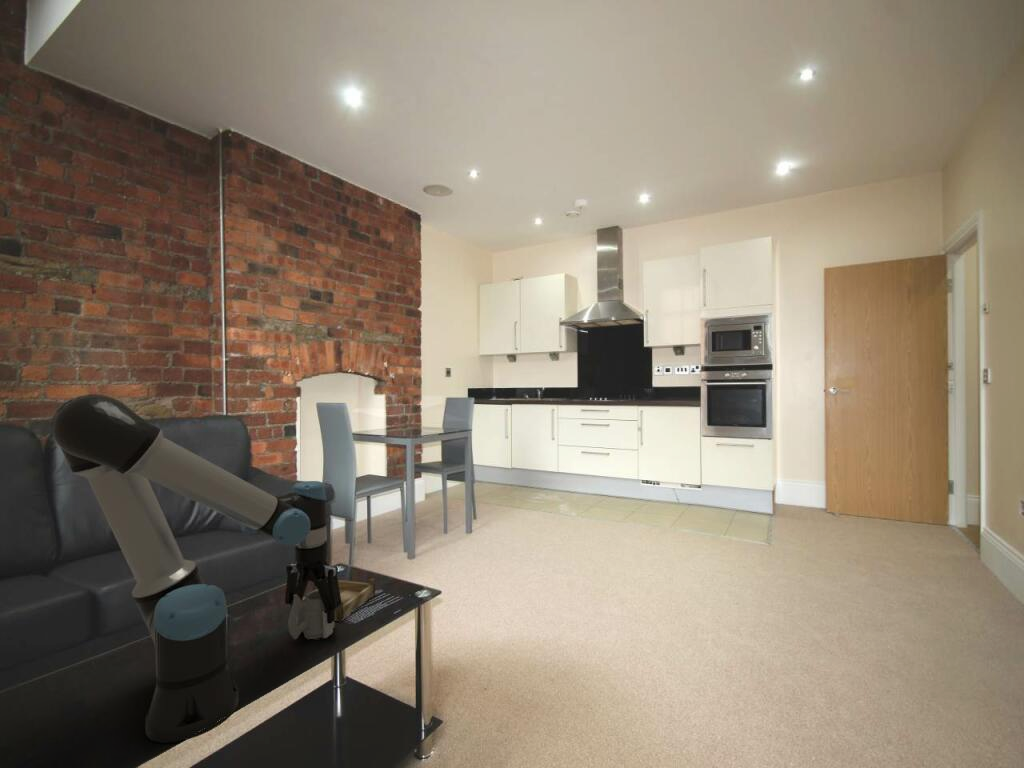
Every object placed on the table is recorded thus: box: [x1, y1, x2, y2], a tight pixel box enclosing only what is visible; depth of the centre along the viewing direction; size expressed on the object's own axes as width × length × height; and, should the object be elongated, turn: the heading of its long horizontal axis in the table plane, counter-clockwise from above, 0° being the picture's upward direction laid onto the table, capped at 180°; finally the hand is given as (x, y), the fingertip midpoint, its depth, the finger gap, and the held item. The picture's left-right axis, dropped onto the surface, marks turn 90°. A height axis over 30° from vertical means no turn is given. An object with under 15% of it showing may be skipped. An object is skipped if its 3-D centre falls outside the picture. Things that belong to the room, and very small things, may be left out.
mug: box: [287, 589, 336, 640], centre depth 125 cm, size 8×12×12 cm, turn 142°
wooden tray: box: [302, 578, 376, 621], centre depth 142 cm, size 17×15×5 cm
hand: (314, 633), depth 125 cm, fingers closed on mug, 8 cm apart
